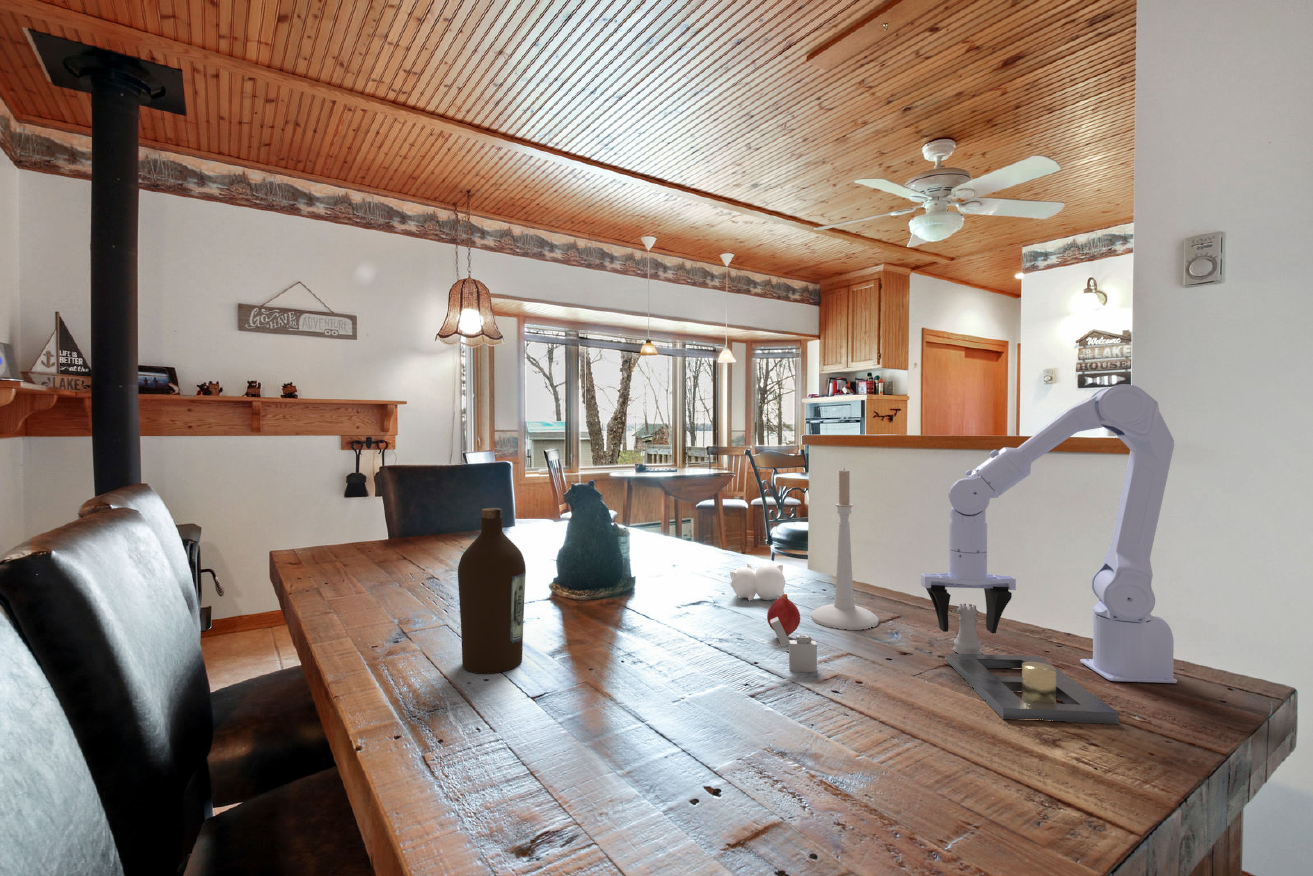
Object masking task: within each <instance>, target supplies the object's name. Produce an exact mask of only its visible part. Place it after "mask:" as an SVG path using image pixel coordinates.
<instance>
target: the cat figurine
mask: <svg viewBox="0 0 1313 876" xmlns="http://www.w3.org/2000/svg"><path fill="white" fill-rule="evenodd" d="M783 568H784V565H783V564H778V565H773V564H770V563H764V564H763V563H762V564H760V565H759V566H758V567H757V568H756V569H755V570H754V568H753V566H752V565H751V564H750V563H747V564H746V566H741V567H738V568H737V569H735V570H732V569H731V570H730V572H729V573H730V574H729V575H730V579H731V581H730V587H731V588H732V591H733V592H734V593H735V595H736V596H737V597H740V598H742V599H744V598H745V599H746V598H747V599H748V600H752V601H753V599H754V598H755V596H756V595H757V596H758V597H759V598H760V599H761V600H765V601H772V600H774V599H775V600H776V599H779V598H780V597H781V596H782V595H783V594H785V591H784V589H785V586H786V579H785V576H784V573H783Z"/></svg>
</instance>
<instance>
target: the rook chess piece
mask: <svg viewBox="0 0 1313 876" xmlns="http://www.w3.org/2000/svg"><path fill="white" fill-rule="evenodd" d="M956 611H957V612H958V613H959V615H960V616H959V618H958V621H959V627H958V629H959V630H958V633H957V635H956V638H955V639H954V640H953V645H954V646H953V647H952V648H953V651H954V652H955V653H956V652H957V653H958V654H983V652H984V651H983V650H982V648H983V646H982V643H981V641H980V638H978V633H977V623H978V620H977V618H976V617H977V616H978V614H979V612H980V611H978V609H977V605H975V604H972V603H968V605H967V603H965V602H964V603H959V607H958V608H957V609H956ZM957 653H956V654H957Z"/></svg>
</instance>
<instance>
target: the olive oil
mask: <svg viewBox="0 0 1313 876" xmlns="http://www.w3.org/2000/svg"><path fill="white" fill-rule="evenodd" d="M502 514H503V509H502V508H499V507H487V508H482V509H481V517H480V529H481V530H480V531H481V532H480V533H479V534H478V536H477V537H476V538H475V539H474V540H473V542H471V544H470V545H469V546H468V547H467V548H466V549H465V550H464V551H463V554H462V555H461V557H460V559H459V563H458V567H457V582H458V583H457V585H458V598H459V599H458V600H459V602H458V603H459V615H460V616H459V617H460V634H461V659H462V660H461V662H462V663H461V664H462V668H463V669H464V670H466V671H467V672H469V673H474V674H481V675H482V674H485V675H486V674H498V673H503V672H507V671H510V670H512V669H515V668H516V667H518V666H519V665H520V664H521V663H522V662H523V651H524V650H523V649H524V648H523V647H524V646H523V644H524V643H523V642H524V640H523V639H524V619H525V617H524V615H525V591H526V590H525V589H526V577H527V576H526V573H527V570H526V569H527V568H526V563H525V558H524V556H523V552H521V550H520V548H519V547H517V545H515V543H514V542H513V541H512V540H511V539H510V538H509V537H508V536H507V535H506V534H505V533H504V531H503V516H502Z"/></svg>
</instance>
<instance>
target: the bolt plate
mask: <svg viewBox="0 0 1313 876" xmlns="http://www.w3.org/2000/svg"><path fill="white" fill-rule="evenodd" d="M946 654H947V656H946V657H947V662H948V663H949V664H950V665H951V666H952V667H953V668H954V669H955V670H956V671H957V672H958V673H959V674H960V675H961V676H960V675H959V674H958V673H957V672H956V671H955V670H954V669H953V668H952V667H951V666H950V665H949V664H948V663H947V664H948V665H949V666H950V667H951V668H952V669H953V670H954V671H955V672H956V673H957V674H958V675H959V676H960V677H961V678H962V679H963V678H964V679H965V680H966V681H965V680H964V679H963V680H964V681H965V682H966V683H967V682H968V683H969V684H970V685H969V684H968V683H967V684H968V685H969V687H971V688H972V687H973V688H974V689H973V688H972V689H973V690H974V692H976V693H977V695H979V697H980V698H981V699H982V700H983V699H984V700H986V702H987V703H988V704H989V705H990V706H991V707H992V708H993V709H992V708H991V707H990V706H989V705H988V704H987V703H986V702H985V703H986V704H987V705H988V706H989V707H990V708H991V709H992V710H993V711H994V710H995V711H996V712H997V713H998V714H999V715H1000V716H1001V717H1002V718H1001V717H1000V716H999V715H998V714H997V713H996V712H995V711H994V712H995V713H996V714H997V715H998V716H999V717H1000V718H1001V719H1002V720H1003V719H1039V720H1040V719H1041V720H1042V719H1043V720H1051V721H1052V720H1053V721H1066V722H1065V723H1075V722H1076V723H1079V724H1080V723H1081V724H1099V725H1101V724H1102V723H1103V725H1105V724H1107V725H1119V724H1120V717H1119V716H1120V715H1119V714H1120V712H1119V711H1117V710H1116V709H1115V708H1113V707H1112V706H1110V705H1109V704H1108V703H1106V702H1105V701H1103V700H1102V699H1100V698H1099V697H1098V696H1096V695H1095V694H1093V693H1092V692H1091V691H1089V690H1088V689H1086V688H1085V687H1083V686H1082V685H1081V684H1079V683H1078V682H1076V681H1075V680H1073V679H1072V678H1071V677H1069V676H1068V675H1067V674H1065V673H1064V672H1062V670H1060V669H1058V668H1057V667H1056V666H1054V665H1053V664H1051V663H1049V661H1047V660H1046V659H1044V658H1043V657H1041V656H1040V655H1014V654H985V653H984V654H983V653H982V654H957V653H953V652H952V653H950V652H949V653H946ZM990 668H1022V670H1021V676H1013V675H1011V676H1010V675H1009V676H1008V675H1007V676H1006V675H994V674H993V673H992V672H991V671H990V670H988V669H990ZM1012 691H1022V693H1021V698H1020V697H1019V696H1017V694H1016V693H1015V692H1012ZM1056 696H1057V697H1058V698H1059V700H1060V701H1061V700H1062V701H1063V702H1062V701H1061V702H1062V703H1057V699H1058V698H1057V697H1056ZM984 700H983V701H984ZM1022 700H1023V701H1022ZM1076 723H1075V724H1076ZM1100 723H1101V724H1100Z"/></svg>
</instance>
